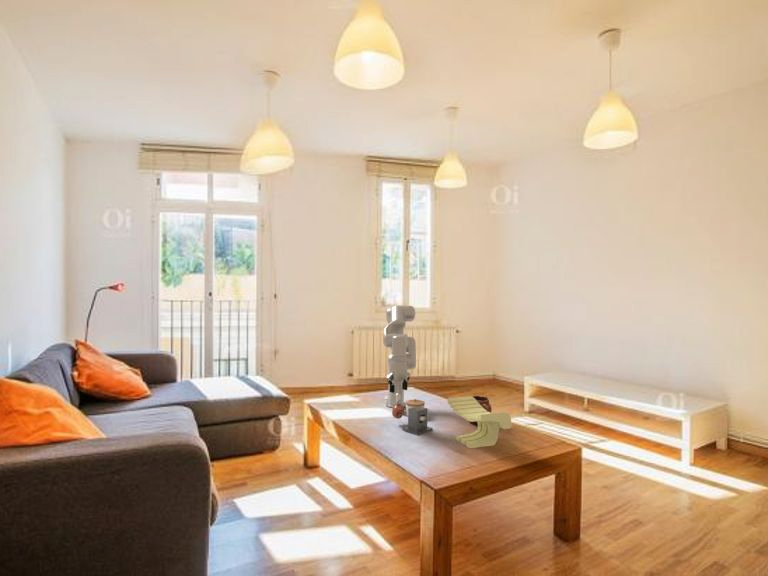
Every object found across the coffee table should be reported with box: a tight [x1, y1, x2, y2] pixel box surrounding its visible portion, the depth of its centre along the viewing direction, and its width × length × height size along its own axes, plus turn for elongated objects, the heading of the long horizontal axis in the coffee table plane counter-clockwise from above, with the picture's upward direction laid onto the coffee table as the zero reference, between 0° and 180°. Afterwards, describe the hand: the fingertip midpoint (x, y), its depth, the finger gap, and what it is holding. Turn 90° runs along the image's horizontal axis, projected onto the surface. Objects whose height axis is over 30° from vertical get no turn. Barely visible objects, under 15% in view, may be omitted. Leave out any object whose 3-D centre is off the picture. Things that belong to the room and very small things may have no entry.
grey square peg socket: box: [402, 406, 434, 436], centre depth 229 cm, size 10×12×11 cm
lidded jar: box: [405, 398, 426, 412], centre depth 255 cm, size 11×11×9 cm
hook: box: [391, 393, 426, 422], centre depth 233 cm, size 20×7×13 cm, turn 44°
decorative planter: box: [468, 395, 493, 426], centre depth 242 cm, size 20×12×14 cm, turn 20°
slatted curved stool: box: [447, 395, 512, 449], centre depth 214 cm, size 30×16×18 cm, turn 20°
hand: (398, 391), depth 239 cm, fingers open, 9 cm apart
